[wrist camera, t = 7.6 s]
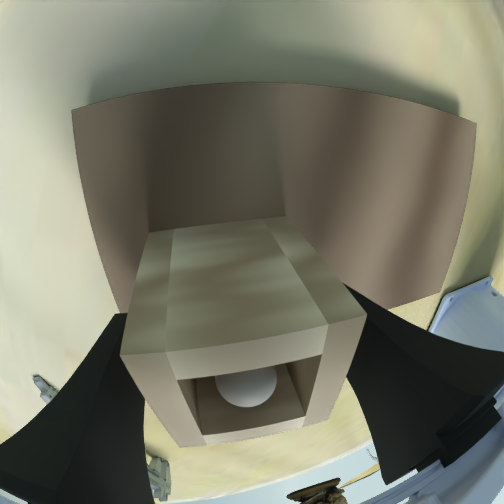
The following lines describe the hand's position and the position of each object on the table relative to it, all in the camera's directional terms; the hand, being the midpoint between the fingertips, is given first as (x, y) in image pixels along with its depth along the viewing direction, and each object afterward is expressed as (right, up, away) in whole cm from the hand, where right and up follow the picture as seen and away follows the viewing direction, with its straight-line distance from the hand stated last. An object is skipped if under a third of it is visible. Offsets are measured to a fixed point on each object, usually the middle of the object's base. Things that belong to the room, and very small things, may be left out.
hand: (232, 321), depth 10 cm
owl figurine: (+18, -67, +46) cm, 84 cm away
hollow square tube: (0, +1, +2) cm, 2 cm away
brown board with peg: (+4, +4, +3) cm, 7 cm away
